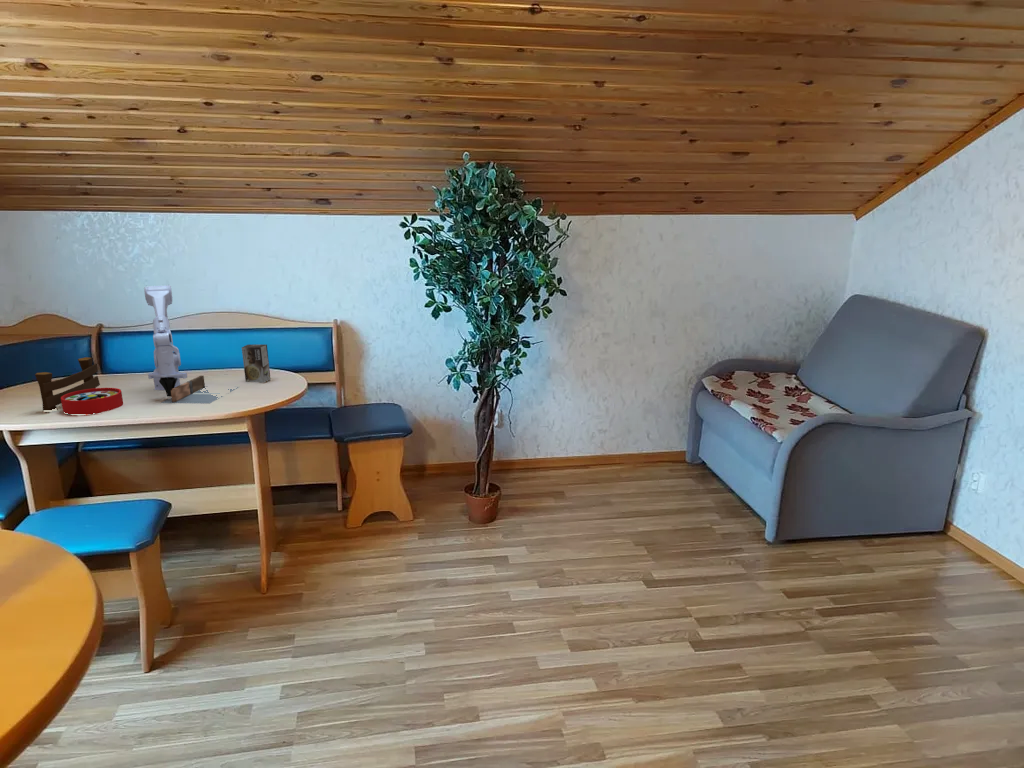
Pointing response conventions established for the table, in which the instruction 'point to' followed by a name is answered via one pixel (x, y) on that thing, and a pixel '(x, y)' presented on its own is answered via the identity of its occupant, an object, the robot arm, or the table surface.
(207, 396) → the board
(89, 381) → the decorative fence
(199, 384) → the dark brown wooden bar
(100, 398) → the toy clock
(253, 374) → the coffee box
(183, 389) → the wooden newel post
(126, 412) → the table surface
